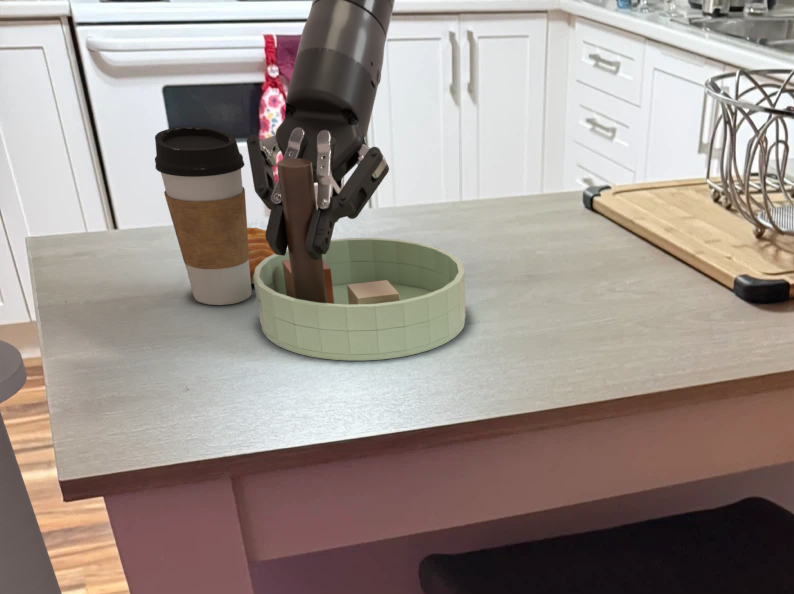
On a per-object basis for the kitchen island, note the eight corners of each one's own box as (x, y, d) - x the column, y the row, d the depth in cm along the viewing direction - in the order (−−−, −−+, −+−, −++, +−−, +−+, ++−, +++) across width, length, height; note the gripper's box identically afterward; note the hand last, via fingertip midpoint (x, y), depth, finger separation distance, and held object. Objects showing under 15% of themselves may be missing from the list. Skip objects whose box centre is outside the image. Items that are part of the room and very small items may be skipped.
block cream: (361, 340, 99) (357, 298, 97) (350, 326, 102) (346, 284, 99) (402, 335, 100) (399, 293, 98) (390, 321, 103) (387, 279, 101)
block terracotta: (295, 314, 104) (290, 272, 101) (287, 301, 107) (281, 260, 104) (335, 309, 105) (330, 268, 103) (325, 296, 108) (321, 256, 105)
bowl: (285, 373, 95) (277, 317, 91) (244, 299, 109) (236, 249, 105) (493, 344, 101) (493, 291, 97) (429, 278, 115) (427, 230, 111)
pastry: (294, 286, 112) (289, 248, 109) (230, 292, 110) (224, 254, 108) (283, 258, 119) (278, 223, 116) (222, 264, 117) (216, 228, 114)
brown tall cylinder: (301, 329, 99) (280, 167, 90) (295, 319, 101) (273, 159, 92) (332, 326, 100) (315, 165, 91) (325, 315, 102) (307, 157, 93)
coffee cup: (235, 276, 114) (210, 121, 104) (279, 296, 109) (257, 136, 100) (166, 293, 109) (132, 133, 99) (208, 315, 105) (178, 150, 95)
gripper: (249, 38, 93) (204, 222, 92) (395, 49, 90) (351, 239, 89) (284, 95, 100) (243, 266, 99) (421, 107, 98) (380, 283, 97)
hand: (294, 252), depth 94 cm, fingers closed on brown tall cylinder, 3 cm apart
